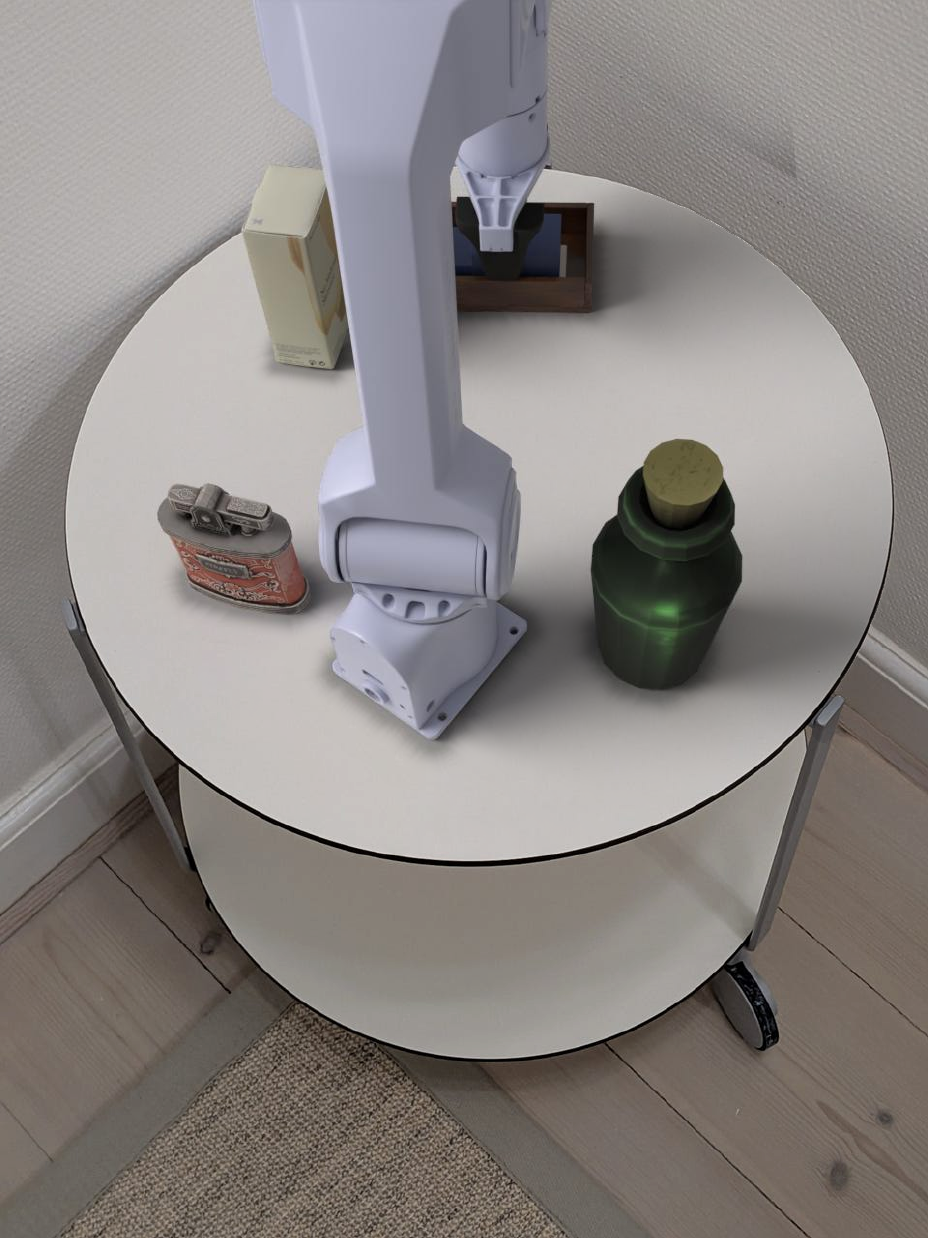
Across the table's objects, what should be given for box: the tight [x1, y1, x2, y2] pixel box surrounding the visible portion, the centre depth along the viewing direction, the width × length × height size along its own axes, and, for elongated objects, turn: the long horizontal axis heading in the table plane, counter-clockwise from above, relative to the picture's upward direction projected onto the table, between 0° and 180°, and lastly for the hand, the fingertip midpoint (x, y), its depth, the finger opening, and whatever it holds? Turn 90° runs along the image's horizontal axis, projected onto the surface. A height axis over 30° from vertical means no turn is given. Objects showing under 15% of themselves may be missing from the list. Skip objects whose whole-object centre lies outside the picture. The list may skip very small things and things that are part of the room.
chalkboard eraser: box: [453, 214, 567, 277], centre depth 86 cm, size 8×4×4 cm, turn 86°
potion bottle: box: [590, 438, 743, 691], centre depth 67 cm, size 8×8×18 cm
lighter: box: [156, 482, 312, 615], centre depth 74 cm, size 8×3×10 cm, turn 73°
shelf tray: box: [451, 201, 595, 313], centre depth 88 cm, size 12×8×3 cm, turn 86°
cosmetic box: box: [241, 162, 349, 370], centre depth 82 cm, size 6×4×12 cm
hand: (504, 248), depth 86 cm, fingers open, 5 cm apart
